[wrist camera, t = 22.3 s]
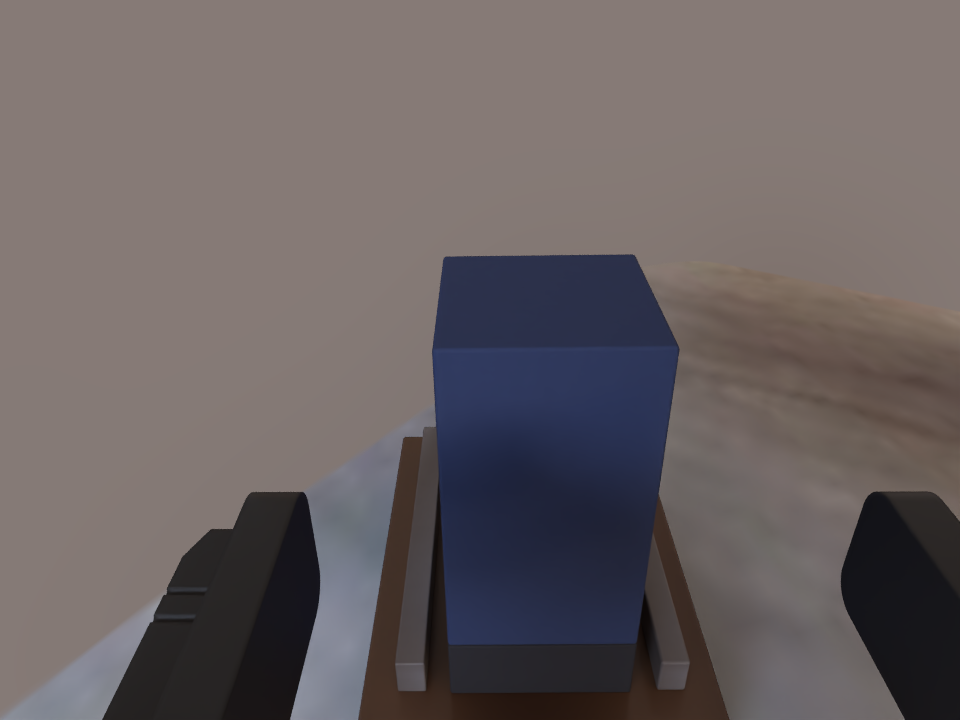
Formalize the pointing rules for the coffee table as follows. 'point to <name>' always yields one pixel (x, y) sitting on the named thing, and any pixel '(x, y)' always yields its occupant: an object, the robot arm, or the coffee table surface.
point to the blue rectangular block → (548, 466)
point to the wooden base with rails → (517, 716)
